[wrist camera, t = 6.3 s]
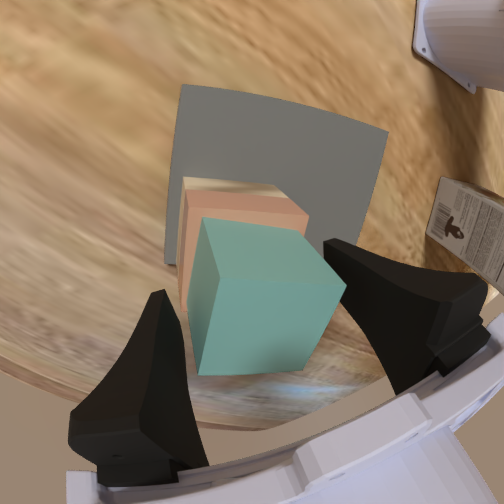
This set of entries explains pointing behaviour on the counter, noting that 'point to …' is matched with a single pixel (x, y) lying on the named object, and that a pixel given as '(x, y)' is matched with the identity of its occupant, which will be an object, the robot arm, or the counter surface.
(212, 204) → the terracotta slab
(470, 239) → the coffee box
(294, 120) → the slate board
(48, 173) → the counter surface
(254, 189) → the maple slab
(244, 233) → the teal block
